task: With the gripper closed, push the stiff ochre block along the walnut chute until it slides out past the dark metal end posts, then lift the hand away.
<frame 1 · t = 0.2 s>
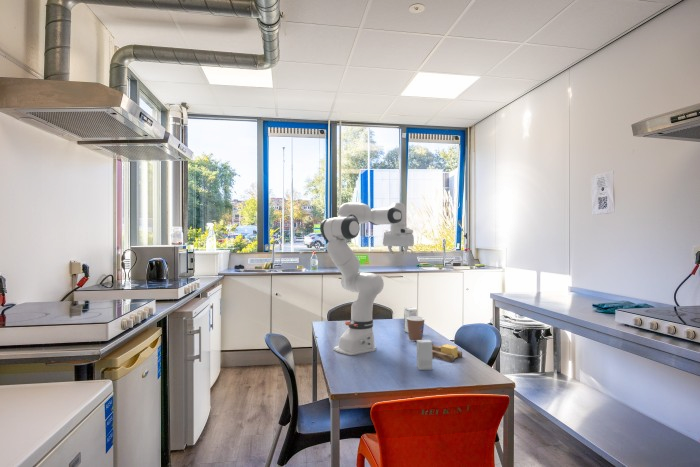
hand: (397, 254, 214), 48 cm above the table, tool pointing down, fingers open, 8 cm apart
skincare box: (424, 369, 160), on the table
chute: (441, 355, 178), on the table
syrup box: (410, 332, 223), on the table
ochre block: (449, 351, 175), point 3 cm above the table, slide at 0.0 cm
coffee cup: (415, 339, 206), on the table
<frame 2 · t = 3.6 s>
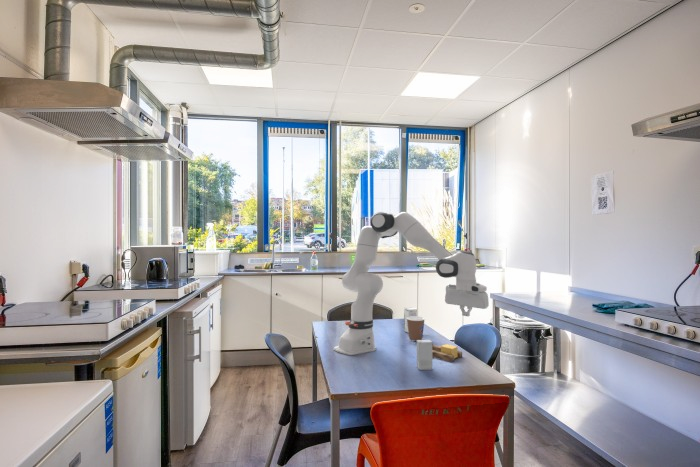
hand: (465, 315, 170), 21 cm above the table, tool pointing down, fingers closed
nothing on the table moved.
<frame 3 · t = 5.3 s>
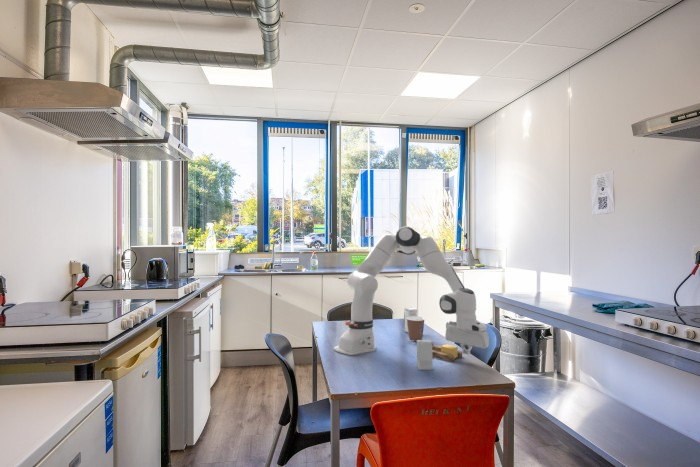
hand: (466, 353, 170), 3 cm above the table, tool pointing down, fingers closed
nothing on the table moved.
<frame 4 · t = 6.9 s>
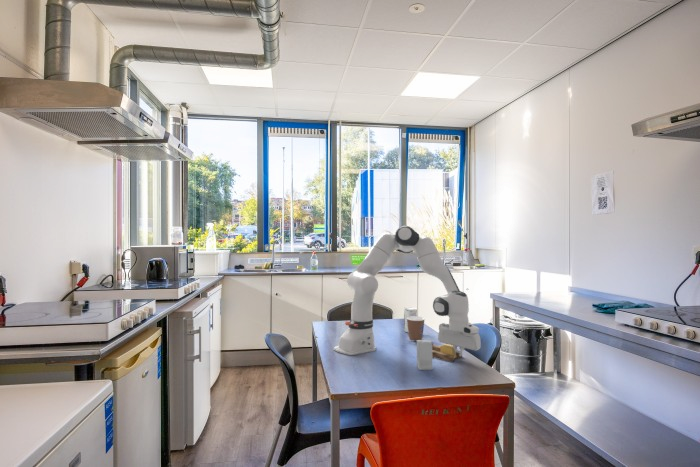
hand: (458, 355, 172), 2 cm above the table, tool pointing down, fingers closed
ochre block: (448, 351, 176), point 3 cm above the table, slide at 0.3 cm, touching gripper
everything else where it was.
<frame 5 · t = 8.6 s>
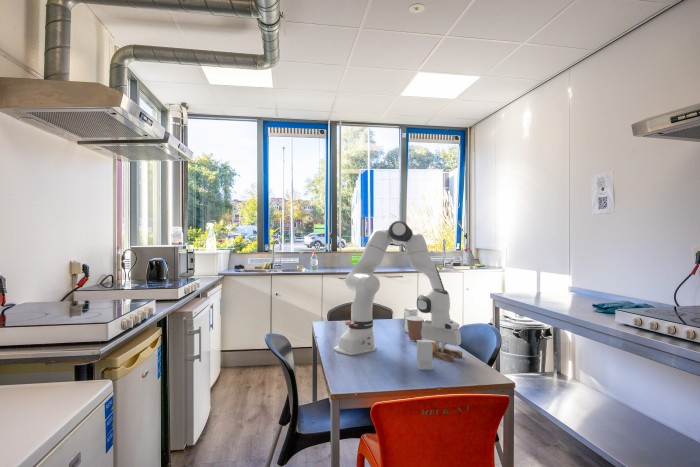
hand: (440, 351, 178), 2 cm above the table, tool pointing down, fingers closed
ochre block: (431, 347, 182), point 3 cm above the table, slide at 9.9 cm, touching gripper
everything else where it was.
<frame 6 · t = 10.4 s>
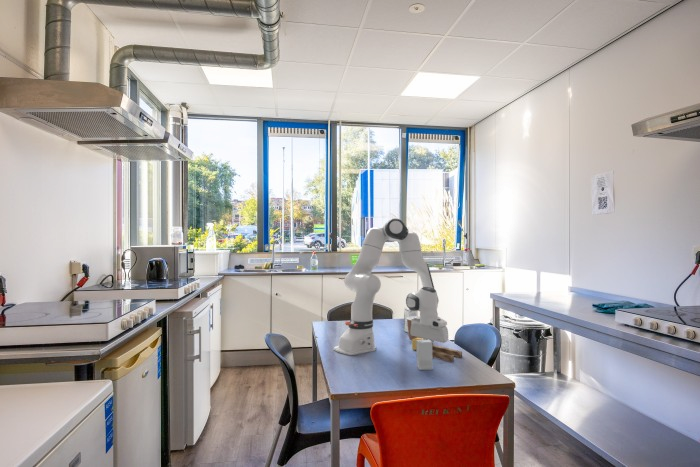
hand: (428, 347, 183), 2 cm above the table, tool pointing down, fingers closed
ochre block: (419, 344, 187), point 3 cm above the table, slide at 16.6 cm, touching gripper
everything else where it was.
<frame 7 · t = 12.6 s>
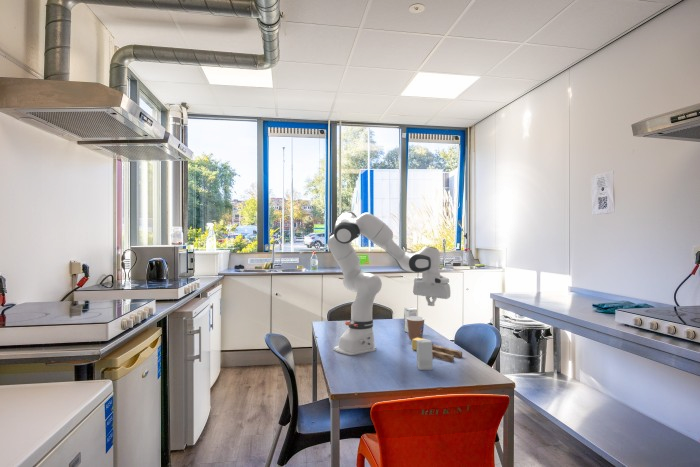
hand: (431, 305, 186), 23 cm above the table, tool pointing down, fingers closed
ochre block: (419, 344, 187), point 3 cm above the table, slide at 16.7 cm
everything else where it was.
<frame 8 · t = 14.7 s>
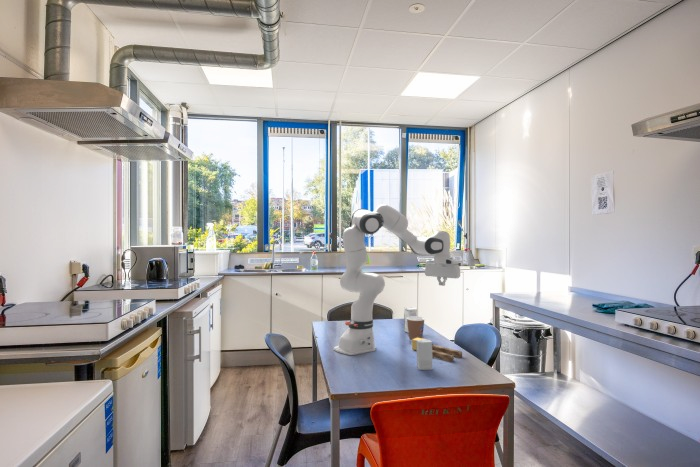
hand: (441, 285, 202), 31 cm above the table, tool pointing down, fingers closed
nothing on the table moved.
at the end: ochre block slide at 16.7 cm; coffee cup moved 0.2 cm from its start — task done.
